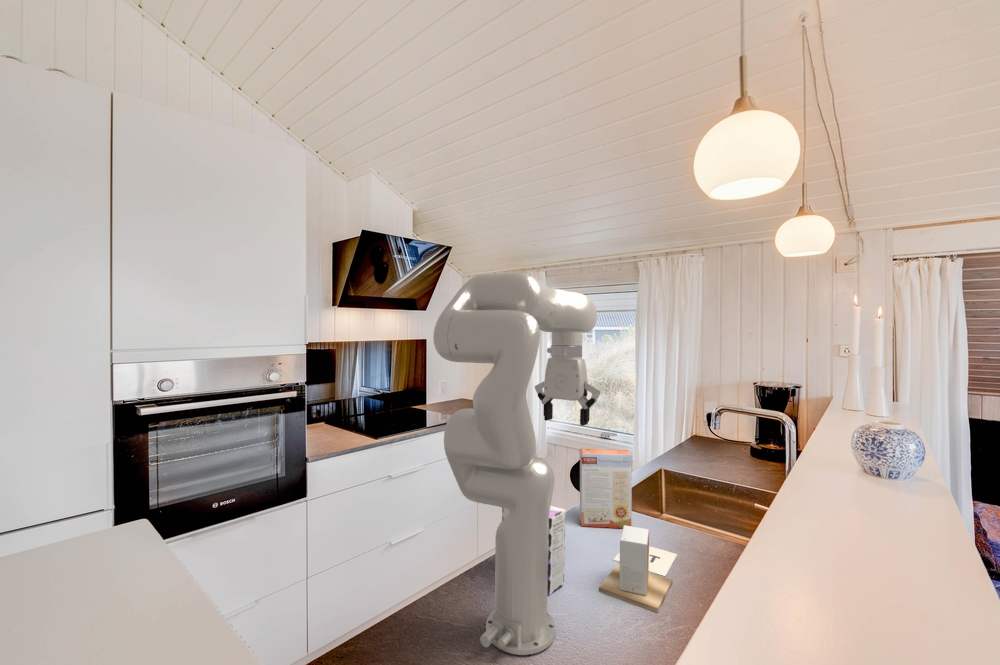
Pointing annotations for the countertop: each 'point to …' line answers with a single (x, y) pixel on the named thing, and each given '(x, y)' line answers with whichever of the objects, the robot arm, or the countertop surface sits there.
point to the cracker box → (605, 488)
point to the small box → (634, 560)
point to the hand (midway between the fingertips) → (565, 422)
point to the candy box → (553, 548)
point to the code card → (657, 560)
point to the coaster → (651, 601)
